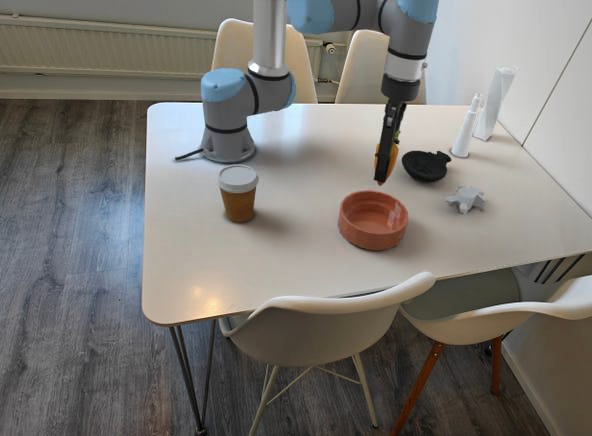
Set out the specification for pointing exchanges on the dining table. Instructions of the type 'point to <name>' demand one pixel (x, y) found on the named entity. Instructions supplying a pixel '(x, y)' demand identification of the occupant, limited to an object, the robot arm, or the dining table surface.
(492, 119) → the skyscraper
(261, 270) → the dining table surface
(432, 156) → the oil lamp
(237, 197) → the disposable coffee cup
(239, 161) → the robot arm
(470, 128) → the cosmetic bottle
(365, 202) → the bowl
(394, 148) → the carrot
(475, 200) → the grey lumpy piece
